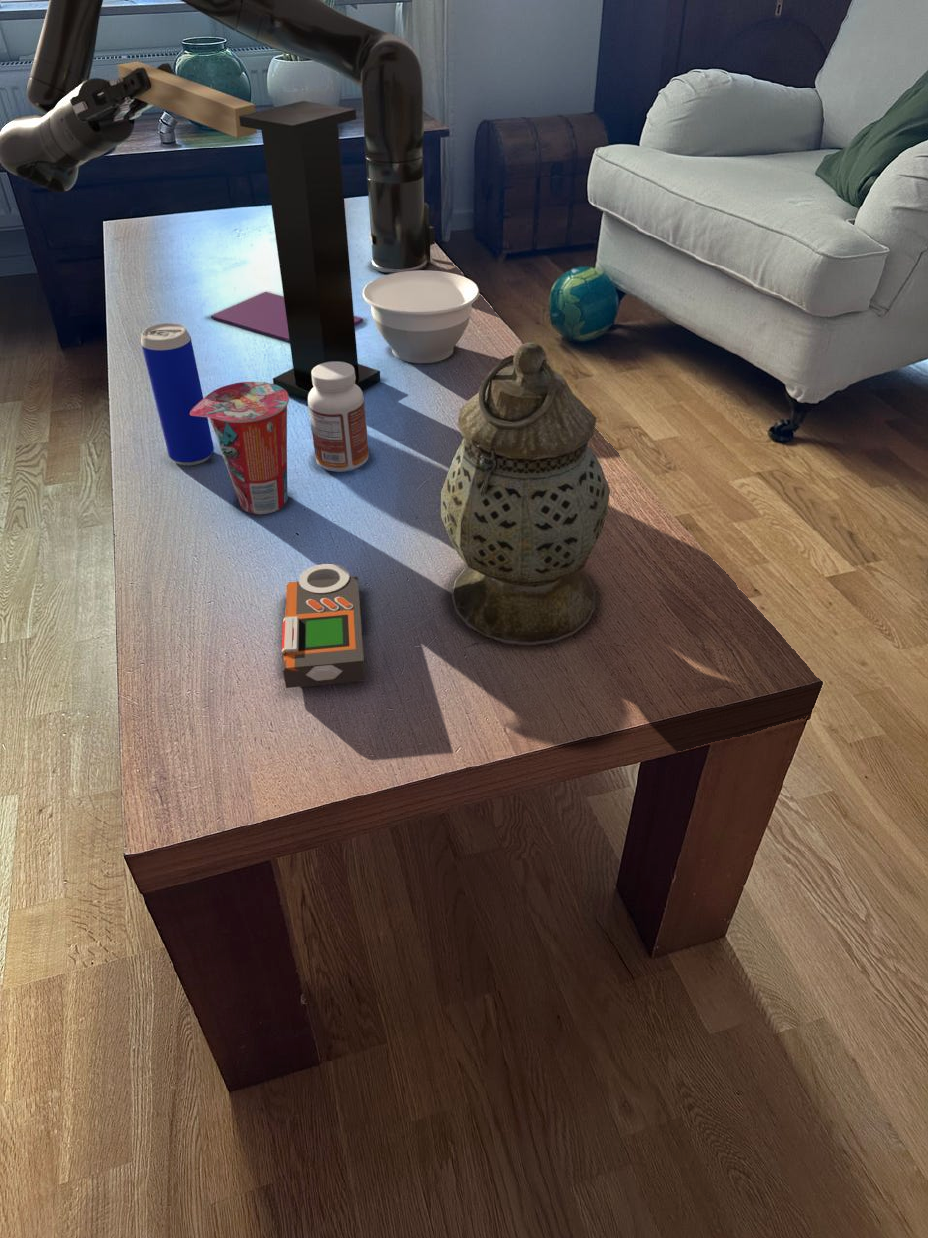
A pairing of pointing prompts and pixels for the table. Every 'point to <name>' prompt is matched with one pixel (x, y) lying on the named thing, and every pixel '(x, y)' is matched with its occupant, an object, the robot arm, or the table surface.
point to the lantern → (524, 504)
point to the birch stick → (193, 100)
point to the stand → (311, 237)
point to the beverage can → (177, 392)
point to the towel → (261, 315)
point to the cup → (251, 440)
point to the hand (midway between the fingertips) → (158, 74)
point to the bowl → (421, 312)
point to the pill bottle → (337, 417)
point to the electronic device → (323, 628)
